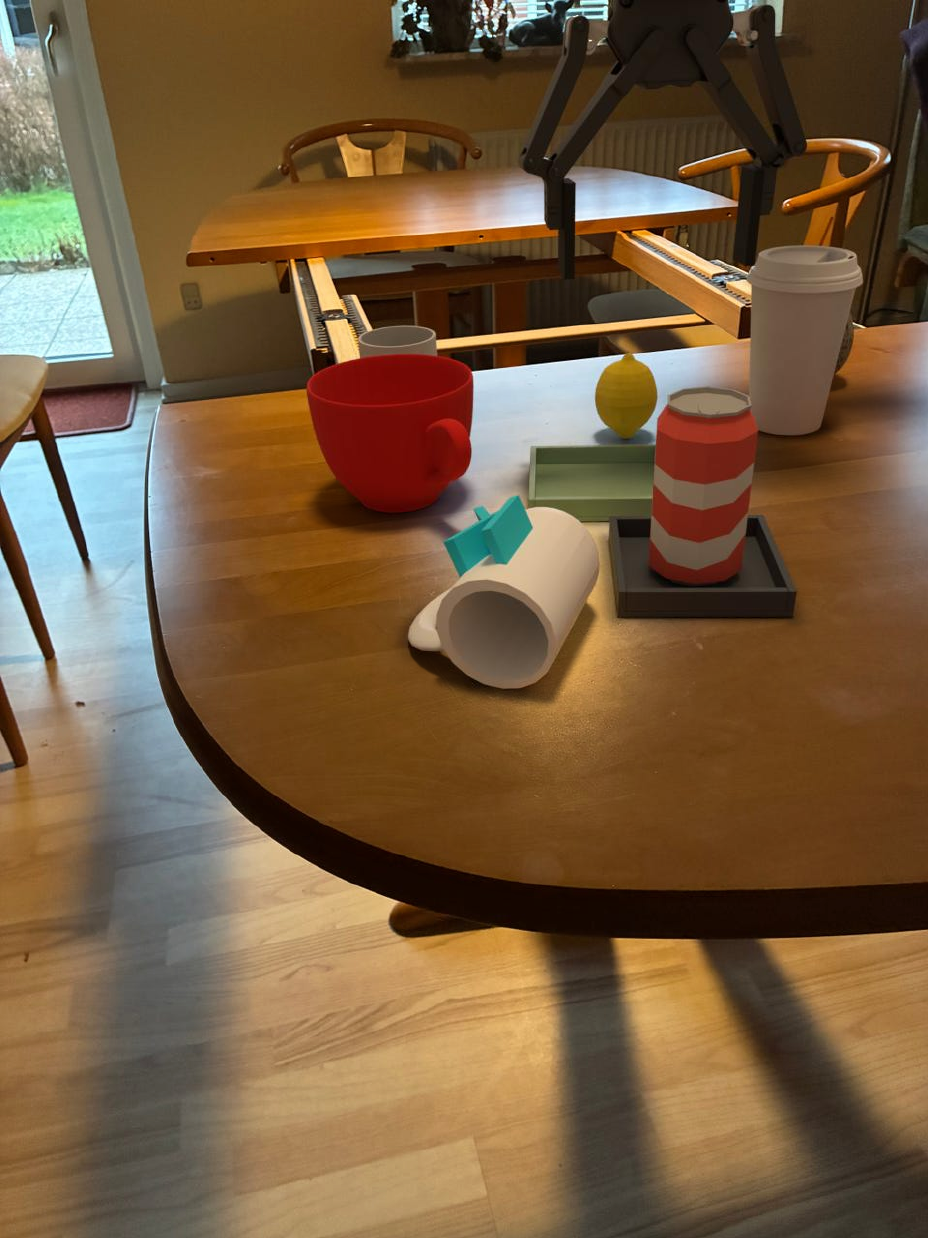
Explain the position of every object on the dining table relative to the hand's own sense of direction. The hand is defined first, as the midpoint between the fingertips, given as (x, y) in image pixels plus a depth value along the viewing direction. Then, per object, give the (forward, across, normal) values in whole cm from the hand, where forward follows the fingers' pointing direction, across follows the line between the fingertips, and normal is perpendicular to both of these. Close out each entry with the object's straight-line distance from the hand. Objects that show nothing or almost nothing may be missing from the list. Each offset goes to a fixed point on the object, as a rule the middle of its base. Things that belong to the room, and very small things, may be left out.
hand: (655, 269), depth 71 cm
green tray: (+17, +5, +3) cm, 17 cm away
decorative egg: (+17, -23, -20) cm, 35 cm away
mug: (+17, +15, +22) cm, 32 cm away
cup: (+17, +20, -14) cm, 30 cm away
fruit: (+17, 0, -9) cm, 19 cm away
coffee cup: (+17, -16, -9) cm, 25 cm away
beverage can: (+16, +1, +18) cm, 24 cm away
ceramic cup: (+17, +20, +2) cm, 26 cm away
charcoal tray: (+17, +1, +18) cm, 24 cm away
